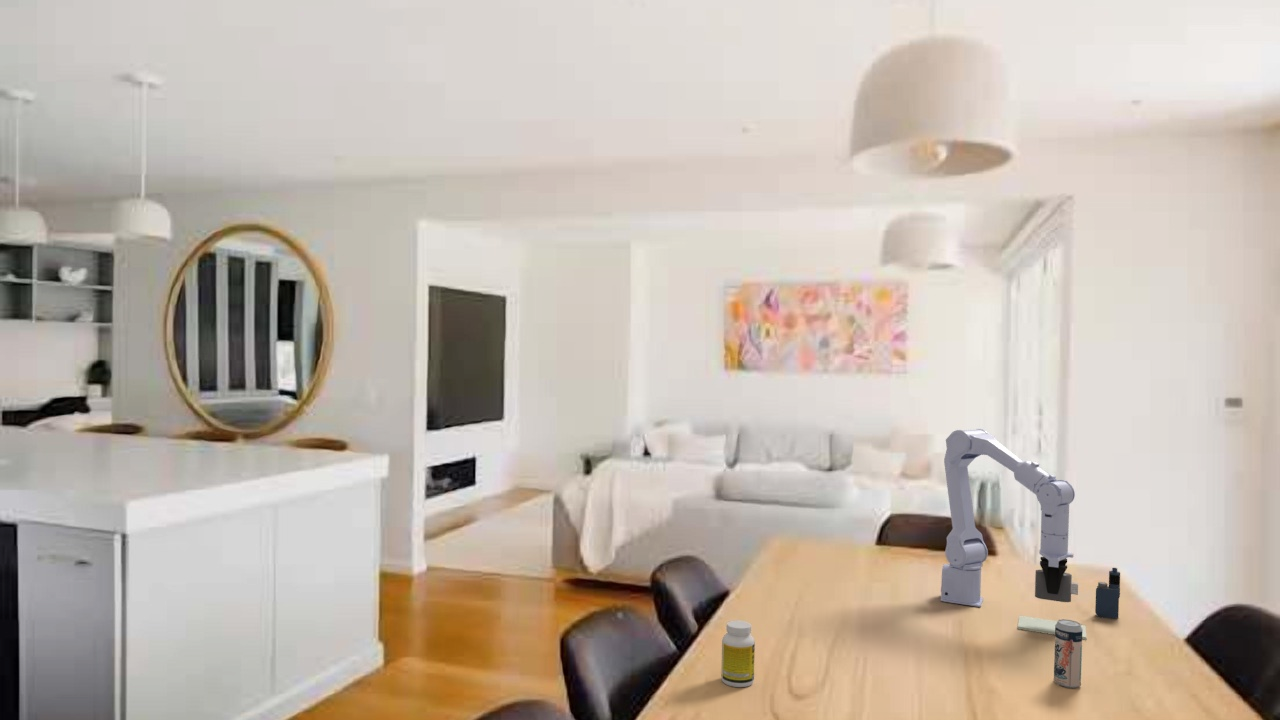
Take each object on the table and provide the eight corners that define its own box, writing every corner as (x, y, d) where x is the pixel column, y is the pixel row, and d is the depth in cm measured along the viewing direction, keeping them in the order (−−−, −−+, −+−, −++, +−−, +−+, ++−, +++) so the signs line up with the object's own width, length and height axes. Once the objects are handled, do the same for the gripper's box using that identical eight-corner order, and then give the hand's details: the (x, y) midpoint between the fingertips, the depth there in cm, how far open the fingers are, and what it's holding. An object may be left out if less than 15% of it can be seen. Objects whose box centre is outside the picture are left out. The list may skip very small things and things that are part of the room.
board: (1017, 628, 191) (1017, 626, 191) (1019, 617, 199) (1019, 615, 199) (1086, 639, 185) (1086, 637, 185) (1085, 628, 193) (1085, 625, 193)
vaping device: (1120, 619, 200) (1122, 570, 200) (1097, 617, 201) (1098, 568, 201) (1117, 615, 202) (1118, 567, 202) (1093, 614, 203) (1095, 565, 203)
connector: (1034, 597, 192) (1035, 572, 192) (1035, 594, 195) (1035, 568, 195) (1077, 604, 188) (1078, 577, 188) (1077, 600, 191) (1078, 574, 191)
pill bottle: (758, 687, 155) (760, 628, 155) (727, 689, 154) (728, 630, 153) (747, 674, 161) (748, 618, 161) (717, 676, 160) (718, 619, 159)
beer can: (1048, 679, 162) (1050, 618, 161) (1071, 679, 162) (1073, 618, 162) (1062, 689, 157) (1064, 627, 157) (1086, 689, 157) (1088, 626, 157)
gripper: (1074, 541, 183) (1072, 602, 183) (1073, 529, 196) (1071, 586, 196) (1039, 537, 186) (1037, 597, 187) (1040, 525, 199) (1038, 581, 200)
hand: (1052, 591), depth 192 cm, fingers closed on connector, 3 cm apart
